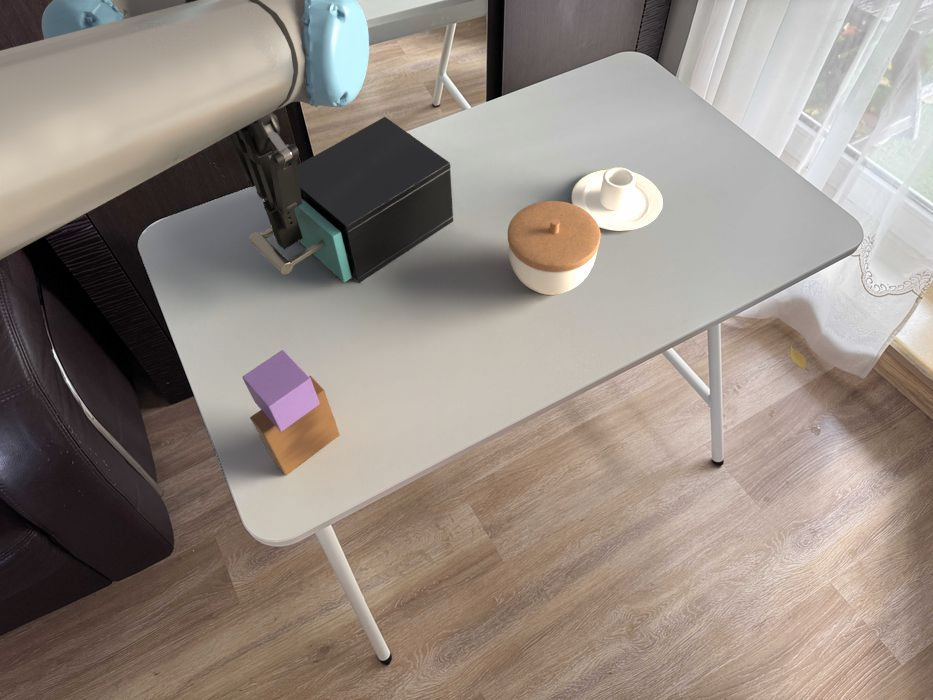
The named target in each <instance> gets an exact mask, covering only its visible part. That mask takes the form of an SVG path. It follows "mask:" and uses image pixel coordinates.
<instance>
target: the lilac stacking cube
mask: <svg viewBox="0 0 933 700" xmlns="http://www.w3.org/2000/svg"><path fill="white" fill-rule="evenodd" d="M309 376H310V375H308V374H307V373H306V371H304V369H303V368H301V366H299V364H297V362H296V361H295V360H294V359H293V358H292V357H291V356H290V355H289V354H288V353H287V352H286V351H285V350H284V349H281V350H280V351H278V352H277V353H275V354H274V355H273V356H270V358H268V359H266V360H265V361H264V362H262V363H260V364H259V365H257V366H256V367H254V368H253V369H251V370H250V371H248V372H247V373H245V374H244V375H243V376H242V377H241V378H242V380H243V382H244V384H245V386H246V388H247V390H248V391H249V394H250V396H251V398H252V400H253V401H254V403H255V404H256V406H257V407H258V408H259V410H262V411H263V412H264V413H265V415H266V416H267V417H268V418H269V419H270V420H271V422H272V423H273V424H274V425H275V426H276V427H277V428H278V430H279V431H280V432H282V431H283V430H284V429H286V428H287V427H289V426H290V425H291V424H293V423H294V422H296V421H297V420H298V419H300V418H301V417H303V416H304V415H305V414H307V413H308V412H310V411H311V410H312V409H314V408H315V407H316V406H318V405H319V404H320V403H319V400H318V398H317V395H316V392H315V390H314V387H313V384H312V381H311V379H310V377H309Z"/></svg>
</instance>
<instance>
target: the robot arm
mask: <svg viewBox="0 0 933 700" xmlns="http://www.w3.org/2000/svg"><path fill="white" fill-rule="evenodd" d="M41 31H42V35H43V39H41V40H37V41H32V42H29V43H25V44H21V45H17V46H13V47H9V48H5V49H1V50H0V261H1V260H3V259H4V258H7V257H8V256H10V255H12V254H14V253H15V252H17V251H20V250H21V249H23V248H24V247H25V248H26V246H28V245H30V244H33V243H34V242H36V241H38V240H39V239H41V238H43V237H45V236H48V235H49V234H50V233H53V232H54V231H56V230H58V229H60V228H62V227H63V226H65V225H67V224H68V223H71V222H73V221H74V220H77V219H78V218H80V217H82V216H84V215H85V214H87V213H89V212H91V211H93V210H94V209H96V208H99V207H100V206H102V205H104V204H106V203H107V202H109V201H111V200H113V199H115V198H116V197H119V196H121V195H122V194H124V193H126V192H127V191H129V190H132V189H133V188H135V187H137V186H139V185H140V184H142V183H144V182H146V181H148V180H150V179H152V178H154V177H155V176H157V175H159V174H161V173H163V172H164V171H167V170H168V169H170V168H172V167H174V166H176V165H177V164H179V163H181V162H182V161H185V160H187V159H189V158H190V157H192V156H194V155H196V154H198V153H199V152H201V151H203V150H205V149H207V148H209V147H210V146H212V145H214V144H216V143H218V142H219V141H221V140H223V139H225V138H227V140H228V143H229V145H230V147H231V149H232V151H233V153H234V156H235V158H236V160H237V162H238V165H239V167H240V169H241V171H242V173H243V175H244V177H245V180H246V182H247V185H248V186H249V187H251V188H254V189H255V191H256V194H257V196H258V197H259V198H260V199H261V200H263V202H262V205H263V207H264V210H265V212H266V216H267V218H268V221H269V224H270V228H271V227H272V230H273V233H274V234H273V235H274V237H275V241H276V244H277V245H279V247H280V248H282V249H283V250H287V249H288V248H289V247H291V246H293V245H294V244H296V243H298V242H299V240H301V239H303V237H302V234H301V230H300V227H299V224H298V220H297V217H296V214H295V211H294V208H296V207H298V206H299V205H301V204H302V198H301V190H300V182H299V174H298V166H297V165H298V159H299V156H300V151H299V148H298V147H297V145H296V144H294V143H291V144H285V142H284V141H283V140H282V138H281V135H280V134H281V127H280V124H279V120H278V117H277V115H276V113H275V111H276V110H280V109H282V108H284V107H286V106H288V105H289V104H291V103H304V104H308V105H310V106H311V107H314V108H317V107H320V106H321V107H332V108H341V107H345V106H348V105H349V104H351V103H352V102H353V101H354V100H355V99H356V98H357V97H358V95H359V93H360V92H361V89H362V88H363V85H364V83H365V79H366V75H367V71H368V66H369V60H370V33H369V25H368V22H367V18H366V16H365V13H364V10H363V8H362V7H361V5H360V4H359V2H358V1H357V0H51V2H50V3H48V5H47V6H46V7H45V9H44V11H43V14H42V17H41Z"/></svg>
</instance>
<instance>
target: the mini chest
mask: <svg viewBox="0 0 933 700" xmlns="http://www.w3.org/2000/svg"><path fill="white" fill-rule="evenodd" d="M297 166H298V174H299V182H300V190H301V192H302V193H303V194H304V195H305V196H306V197H308V198H309V199H310V200H311V201H312V202H313V203H315V204H316V205H317V206H318V207H319V208H320V209H322V210H323V211H324V212H325V213H326V214H327V215H329V216H330V217H331V218H332V219H333V220H334V221H335V222H337V223H338V224H339V225H340V226H341V227H342V228H344V233H345V237H346V242H347V246H348V250H349V255H350V259H351V261H350V260H349V259H348V258H347V260H348V264H349V269H350V273H351V277H352V278H353V279H354V280H355V281H356V282H358V284H360V283H363V282H364V281H365V280H367V279H368V278H369V277H371V276H372V275H374V274H376V273H377V272H378V271H380V270H382V269H383V268H385V267H386V266H387V265H389V264H391V263H392V262H394V261H395V260H397V259H398V258H400V257H402V256H403V255H405V254H406V253H408V252H409V251H410V250H412V249H414V248H415V247H417V246H418V245H420V244H421V243H423V242H424V241H425V240H428V238H431V237H432V236H433V235H435V234H436V233H438V232H439V231H441V230H442V229H445V228H446V227H447V226H449V225H451V223H453V222H454V211H453V210H454V209H453V191H452V190H453V189H452V176H451V163H450V162H449V160H447V159H446V158H444V157H443V156H442V155H440V154H439V153H437V152H436V151H434V150H433V149H431V148H430V147H428V146H427V145H426V144H424V143H423V142H421V141H420V140H419V139H417V138H416V137H414V136H413V135H412V134H410V133H409V132H407V131H406V130H404V129H403V128H402V127H401V126H399V125H398V124H397V123H395V122H393V121H392V120H390V119H389V118H387V117H386V116H383V117H381V118H380V119H378V120H376V121H375V122H372V123H371V124H369V125H367V126H366V127H364V128H362V129H360V130H358V131H356V132H355V133H353V134H351V135H349V136H347V137H346V138H343V139H342V140H340V141H339V142H336V143H334V144H333V145H332V146H330V147H327V148H326V149H324V150H322V151H320V152H318V153H317V154H315V155H313V156H311V157H310V158H308V159H306V160H304V161H302V162H301V163H299V164H297ZM302 193H301V198H302V199H303V197H302Z"/></svg>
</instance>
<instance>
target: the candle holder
mask: <svg viewBox="0 0 933 700" xmlns="http://www.w3.org/2000/svg"><path fill="white" fill-rule="evenodd" d="M571 204H573V205H576V206H578V207H580V208H582V209H584V210H585V211H587V212H588V213H589V214H590V215H591V216H592V217H593V218H594V219H595V221H596V222H597V224H598V226H599V229H600V228H601V229H604V230H608V231H615V232H616V231H617V232H625V231H633V230H638V229H640V228H644V227H645V226H647V225H650V224H651V223H652V222H653V221H654V220H656V219H657V217H658V216H659V215H660V213H661V211H662V210H663V196H662V194H661V192H660V190H659V189H658V187H657V186H656V185H655V183H653V182H652V181H651V180H649V179H648V178H647V177H644V175H642V174H639V173H636V172H633V171H631V170H630V169H627V168H625V167H619V166H618V167H611V168H608V169H607V168H606V169H600V170H595V171H593V172H590V173H588V174H586V175H585V176H583V177H581V178H580V179H579V180H578V181H577V182H576V183H575V185H574V186H573V188H572V192H571Z"/></svg>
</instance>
